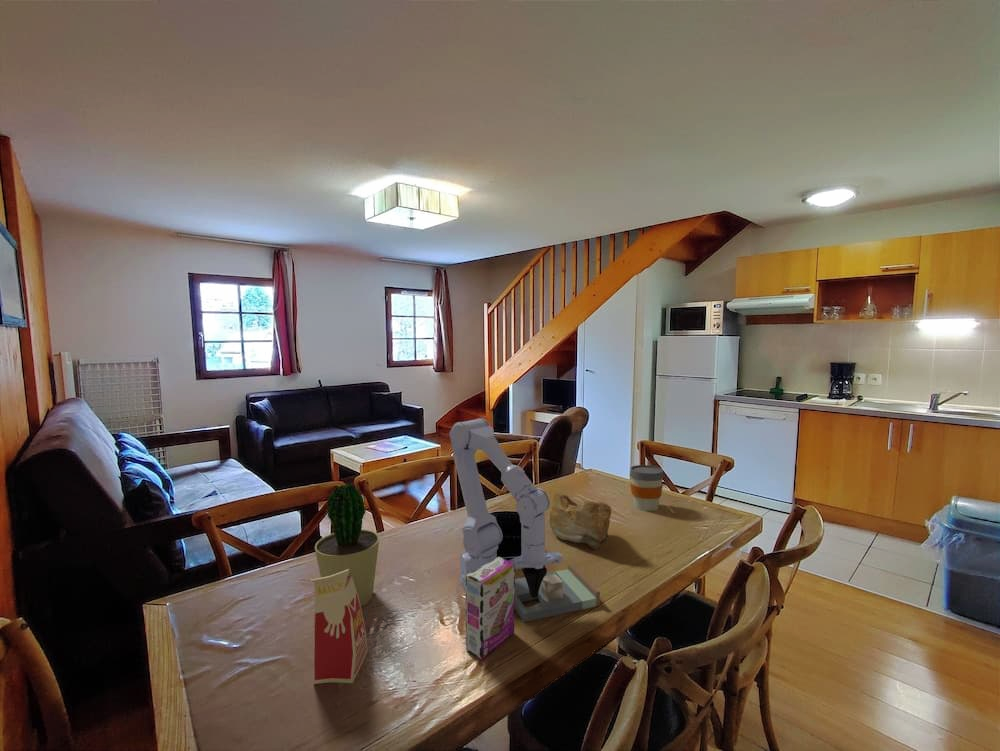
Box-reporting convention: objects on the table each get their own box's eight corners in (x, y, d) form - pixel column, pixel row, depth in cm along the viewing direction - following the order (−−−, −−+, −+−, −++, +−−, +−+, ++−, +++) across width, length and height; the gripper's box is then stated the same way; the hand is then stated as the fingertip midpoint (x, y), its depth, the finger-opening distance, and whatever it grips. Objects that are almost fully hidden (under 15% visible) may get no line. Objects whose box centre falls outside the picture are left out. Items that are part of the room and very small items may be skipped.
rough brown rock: (633, 547, 141) (634, 500, 142) (599, 558, 131) (600, 507, 131) (577, 526, 160) (579, 485, 160) (544, 535, 150) (546, 490, 150)
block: (547, 600, 107) (547, 584, 107) (541, 592, 111) (541, 576, 111) (562, 597, 109) (562, 581, 108) (555, 589, 112) (555, 573, 112)
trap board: (523, 622, 102) (523, 607, 102) (502, 588, 117) (502, 575, 116) (599, 605, 109) (599, 591, 108) (571, 575, 123) (571, 563, 123)
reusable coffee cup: (623, 503, 178) (623, 466, 177) (649, 499, 182) (650, 463, 181) (641, 514, 166) (642, 475, 165) (670, 510, 170) (670, 471, 169)
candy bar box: (482, 661, 90) (481, 583, 89) (464, 651, 93) (463, 575, 92) (516, 633, 98) (515, 561, 97) (498, 624, 102) (498, 555, 100)
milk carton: (367, 650, 94) (364, 558, 92) (355, 683, 84) (351, 581, 83) (323, 651, 93) (320, 559, 92) (306, 685, 84) (301, 583, 83)
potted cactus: (377, 577, 123) (374, 470, 121) (384, 607, 109) (380, 487, 107) (317, 588, 117) (313, 477, 115) (316, 622, 103) (311, 495, 101)
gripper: (510, 552, 101) (511, 610, 102) (567, 543, 106) (567, 598, 107) (500, 539, 108) (501, 593, 109) (555, 531, 113) (555, 583, 113)
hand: (533, 595), depth 108 cm, fingers closed
